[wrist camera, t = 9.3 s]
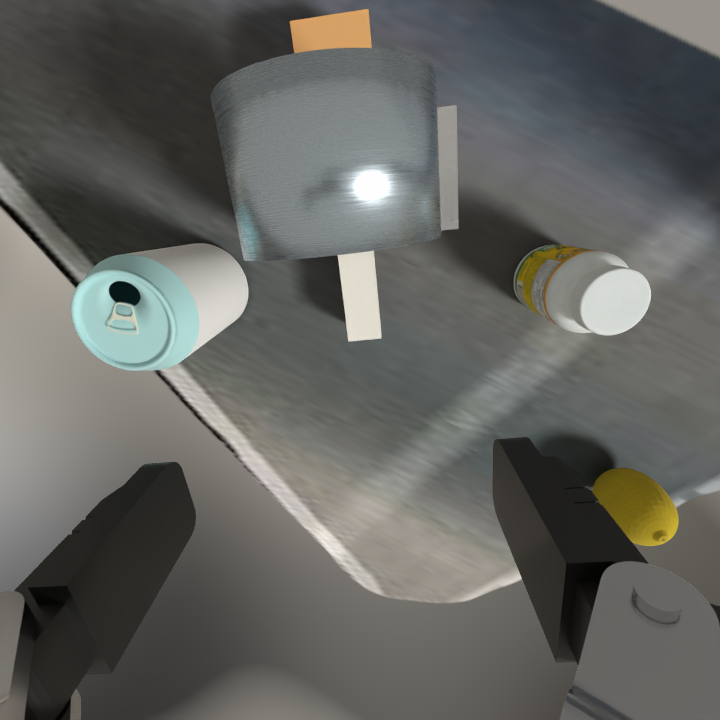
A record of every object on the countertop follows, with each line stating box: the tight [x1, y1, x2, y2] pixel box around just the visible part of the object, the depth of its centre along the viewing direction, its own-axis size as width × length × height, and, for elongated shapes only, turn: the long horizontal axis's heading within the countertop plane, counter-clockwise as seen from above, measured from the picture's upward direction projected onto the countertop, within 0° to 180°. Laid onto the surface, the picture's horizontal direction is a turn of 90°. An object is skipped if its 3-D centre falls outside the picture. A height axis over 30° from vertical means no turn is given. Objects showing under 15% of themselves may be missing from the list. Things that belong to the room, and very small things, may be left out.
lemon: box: [593, 468, 679, 546], centre depth 34 cm, size 6×6×8 cm
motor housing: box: [210, 48, 459, 261], centre depth 21 cm, size 12×6×18 cm, turn 96°
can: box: [71, 243, 248, 371], centre depth 27 cm, size 7×7×12 cm
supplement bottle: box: [513, 244, 651, 335], centre depth 27 cm, size 5×5×10 cm
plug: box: [290, 9, 381, 341], centre depth 27 cm, size 4×20×5 cm, turn 6°
